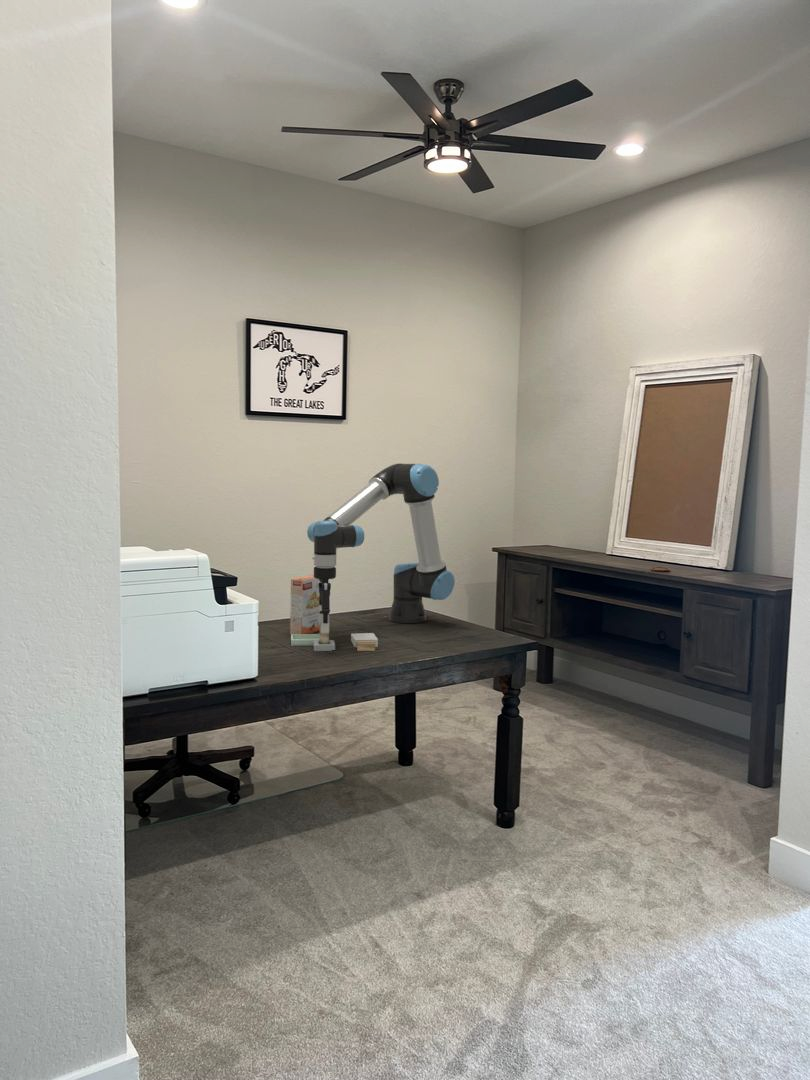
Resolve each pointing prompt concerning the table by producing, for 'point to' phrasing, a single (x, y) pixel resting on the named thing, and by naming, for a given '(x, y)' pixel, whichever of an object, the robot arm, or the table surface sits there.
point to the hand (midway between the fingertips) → (323, 628)
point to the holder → (324, 646)
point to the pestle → (324, 637)
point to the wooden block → (365, 645)
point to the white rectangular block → (364, 638)
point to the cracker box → (304, 605)
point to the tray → (304, 639)
